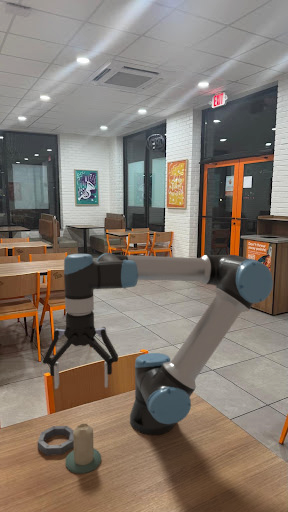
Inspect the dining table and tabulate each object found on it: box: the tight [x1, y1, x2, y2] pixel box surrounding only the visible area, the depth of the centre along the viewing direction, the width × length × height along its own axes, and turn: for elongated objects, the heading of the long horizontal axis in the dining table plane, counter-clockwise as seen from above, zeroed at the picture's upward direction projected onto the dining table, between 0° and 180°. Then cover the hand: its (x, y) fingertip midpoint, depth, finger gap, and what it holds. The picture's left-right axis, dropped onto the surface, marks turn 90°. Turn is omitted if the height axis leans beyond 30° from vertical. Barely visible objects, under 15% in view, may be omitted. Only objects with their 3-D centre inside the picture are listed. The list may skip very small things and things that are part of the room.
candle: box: [73, 423, 94, 465], centre depth 101 cm, size 6×6×10 cm
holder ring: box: [37, 425, 75, 456], centre depth 109 cm, size 11×11×2 cm
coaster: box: [65, 447, 102, 475], centre depth 102 cm, size 10×10×1 cm
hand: (81, 385), depth 99 cm, fingers open, 13 cm apart
